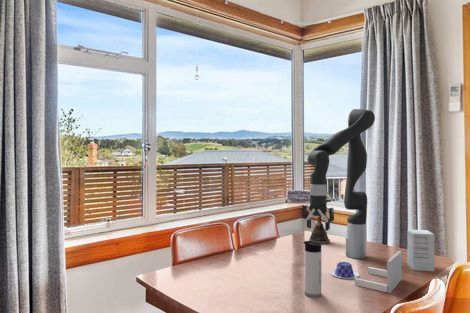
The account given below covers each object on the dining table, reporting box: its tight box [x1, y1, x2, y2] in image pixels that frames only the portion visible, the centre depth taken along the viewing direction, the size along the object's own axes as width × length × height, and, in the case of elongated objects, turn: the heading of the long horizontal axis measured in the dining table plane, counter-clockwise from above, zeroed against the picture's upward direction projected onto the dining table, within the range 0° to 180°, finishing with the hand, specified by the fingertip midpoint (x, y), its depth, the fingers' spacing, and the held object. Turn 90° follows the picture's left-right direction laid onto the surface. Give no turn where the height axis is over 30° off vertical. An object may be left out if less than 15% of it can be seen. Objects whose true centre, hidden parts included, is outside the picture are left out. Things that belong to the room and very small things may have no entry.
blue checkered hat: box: [330, 261, 360, 280], centre depth 155 cm, size 12×12×5 cm
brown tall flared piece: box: [308, 191, 336, 245], centre depth 209 cm, size 17×13×35 cm
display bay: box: [354, 250, 403, 294], centre depth 146 cm, size 14×18×12 cm
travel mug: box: [303, 240, 322, 298], centre depth 134 cm, size 6×7×20 cm
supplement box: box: [407, 229, 435, 272], centre depth 164 cm, size 10×9×17 cm
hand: (318, 229), depth 162 cm, fingers open, 8 cm apart
